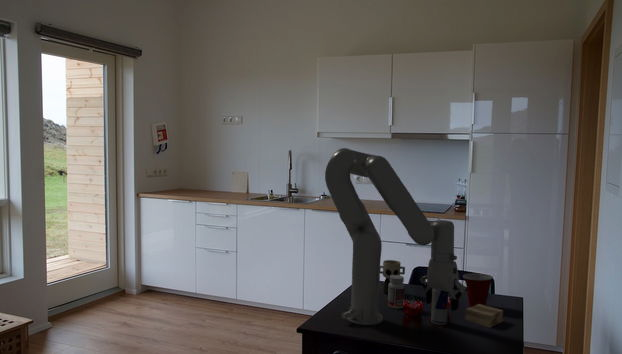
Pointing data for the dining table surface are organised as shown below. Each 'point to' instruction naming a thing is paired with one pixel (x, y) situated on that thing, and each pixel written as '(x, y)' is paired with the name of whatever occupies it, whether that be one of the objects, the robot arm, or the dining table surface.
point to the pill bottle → (396, 291)
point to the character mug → (390, 271)
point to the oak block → (484, 315)
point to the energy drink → (439, 307)
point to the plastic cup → (477, 288)
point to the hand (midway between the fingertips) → (441, 306)
